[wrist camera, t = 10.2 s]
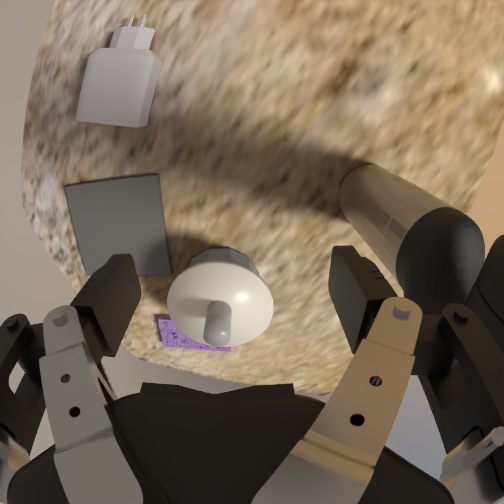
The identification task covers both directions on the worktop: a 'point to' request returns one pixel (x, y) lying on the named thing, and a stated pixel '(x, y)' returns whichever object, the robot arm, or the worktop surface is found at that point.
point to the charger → (120, 79)
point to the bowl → (224, 258)
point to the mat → (121, 223)
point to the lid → (220, 303)
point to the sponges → (181, 337)
